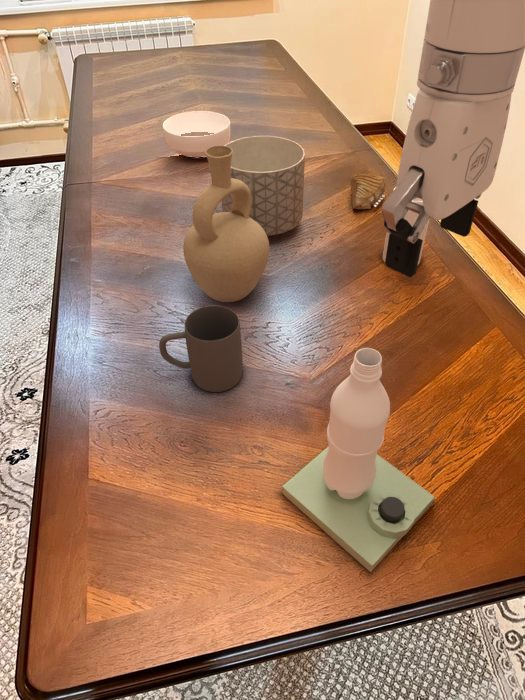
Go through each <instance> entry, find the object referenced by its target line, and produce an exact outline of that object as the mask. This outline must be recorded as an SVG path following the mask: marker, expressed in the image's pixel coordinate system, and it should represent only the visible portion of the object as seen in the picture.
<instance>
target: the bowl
mask: <svg viewBox="0 0 525 700" xmlns="http://www.w3.org/2000/svg"><path fill="white" fill-rule="evenodd" d="M162 132H163V138H164V141H165V144H166V145H167V147H168V148H170V149H171V150H172V151H173V152H174V151H175V152H174V153H176V154H178V155H180V154H181V155H180V156H182V155H185V156H192V157H201V156H206V154H205V151H206V150H207V149H208V148H210V147H213V146H225V145H226V144H228V143H229V142H230V141H231V120H230V119H229V117H228V116H227V115H224V114H222V113H220V112H217V111H209V110H191V111H190V110H189V111H184V112H180V113H177V114H174V115H171V116H170V117H168V118H166V119H165V120H164V121H163V123H162ZM191 132H208V133H214V134H210V135H204V136H181V134H185V133H191ZM205 158H206V157H203V158H202V159H205Z"/></svg>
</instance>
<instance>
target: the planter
mask: <svg viewBox="0 0 525 700" xmlns="http://www.w3.org/2000/svg"><path fill="white" fill-rule="evenodd" d="M225 146H227V147H230V148H231V149H232V150H233V154H232V158H231V178H234V179H238V180H241V181H242V182H244V183H245V184H246V185H247V186H248V188H249V190H250V192H251V201H252V203H251V210H250V215H249V217H250V218H251V219H253V220H254V221H256V222H257V223H258V224H259V225H260V226H261V227H262V228H263V229H264V231H265V233H266V235H267V237H269V236H275V235H280V234H284V233H287V232H288V231H291V230H293V229H294V228H296V227H297V226H298V225H299V224H300V223H301V221H302V219H303V213H304V212H303V210H304V209H303V208H304V187H305V165H306V152H305V149H304V148H303V146H302V145H300V144H299V143H297V142H296V141H294V140H291V139H288V138H285V137H281V136H274V135H251V136H246V137H245V136H244V137H240V138H237V139H235V140H232V141H229V142H228V143H227V144H226V145H225ZM232 203H233V193H231V194H229V195H228V196H226V197H225V198H224V199H223V200H222V201H221V208H222V211H221V212H231V209H232Z"/></svg>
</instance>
